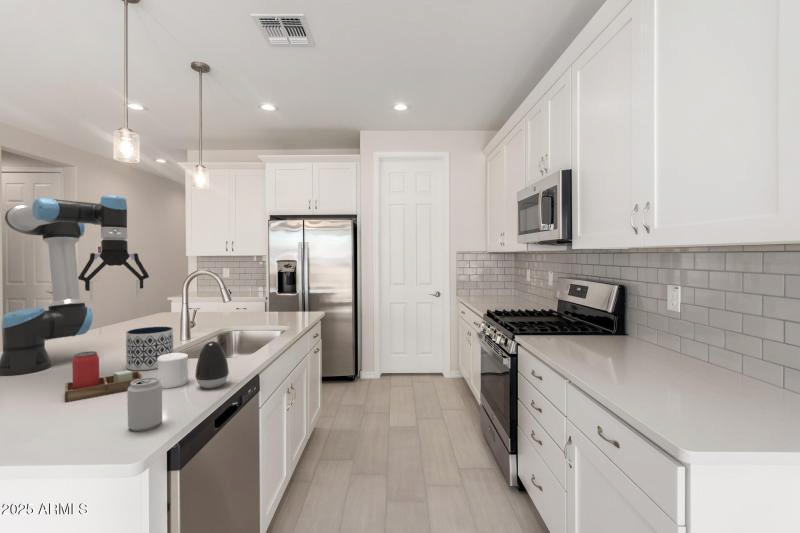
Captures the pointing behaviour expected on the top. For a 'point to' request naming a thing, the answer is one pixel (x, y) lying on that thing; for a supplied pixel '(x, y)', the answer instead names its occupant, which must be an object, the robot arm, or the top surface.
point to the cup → (172, 370)
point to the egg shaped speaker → (212, 366)
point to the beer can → (85, 370)
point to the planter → (147, 347)
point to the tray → (99, 388)
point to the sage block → (123, 376)
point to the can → (144, 403)
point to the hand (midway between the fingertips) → (115, 299)
